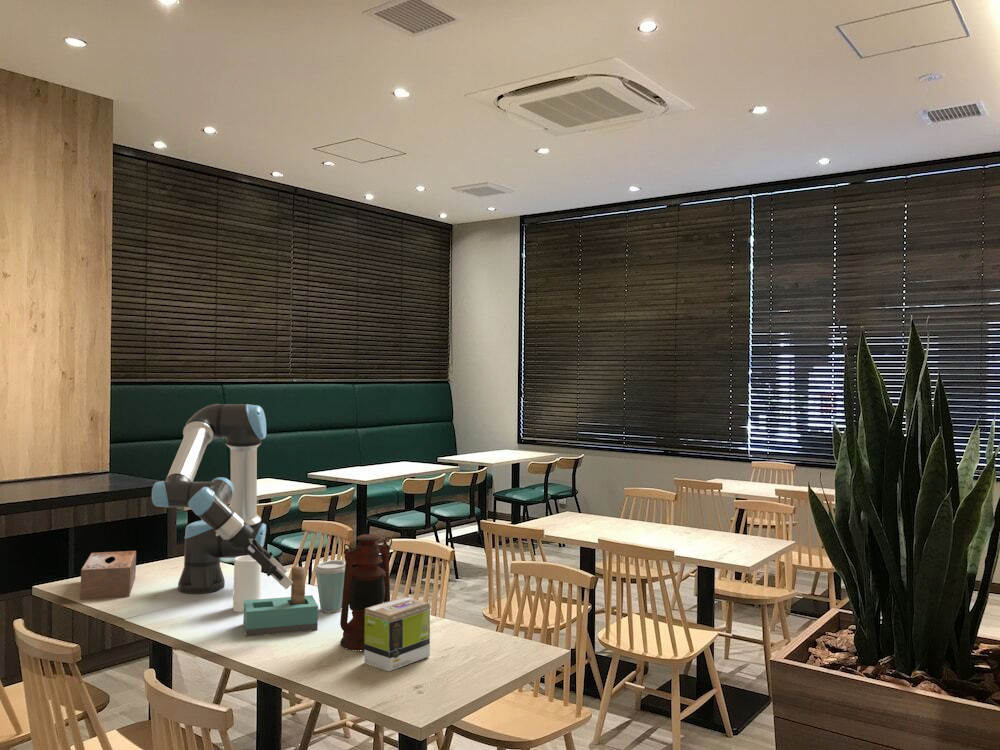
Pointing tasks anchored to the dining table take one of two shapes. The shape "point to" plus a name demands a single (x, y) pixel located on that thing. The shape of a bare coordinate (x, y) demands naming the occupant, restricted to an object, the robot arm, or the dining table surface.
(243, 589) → the cup
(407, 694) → the dining table surface
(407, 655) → the tea box
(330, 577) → the disposable coffee cup
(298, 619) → the socket block
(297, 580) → the walnut pin
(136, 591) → the dining table surface
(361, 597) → the lantern
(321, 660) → the dining table surface
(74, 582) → the dining table surface
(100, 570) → the tissue box cover
